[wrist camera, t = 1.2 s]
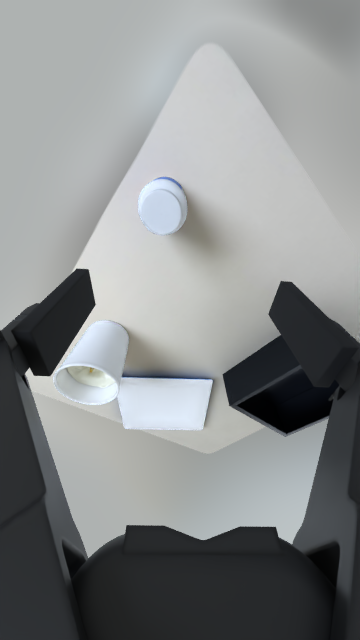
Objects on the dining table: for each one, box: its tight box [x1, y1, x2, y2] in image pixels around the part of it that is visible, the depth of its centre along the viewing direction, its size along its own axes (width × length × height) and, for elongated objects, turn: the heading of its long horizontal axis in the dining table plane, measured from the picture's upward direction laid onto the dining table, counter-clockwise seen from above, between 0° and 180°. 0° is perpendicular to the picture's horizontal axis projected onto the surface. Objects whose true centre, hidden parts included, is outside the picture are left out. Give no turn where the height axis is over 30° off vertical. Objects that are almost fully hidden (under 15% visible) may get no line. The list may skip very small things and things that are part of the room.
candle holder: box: [53, 320, 129, 405], centre depth 37 cm, size 10×10×12 cm
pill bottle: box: [138, 177, 187, 235], centre depth 24 cm, size 6×5×10 cm
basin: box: [223, 335, 340, 437], centre depth 44 cm, size 22×20×8 cm
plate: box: [117, 377, 213, 430], centre depth 53 cm, size 22×22×2 cm
